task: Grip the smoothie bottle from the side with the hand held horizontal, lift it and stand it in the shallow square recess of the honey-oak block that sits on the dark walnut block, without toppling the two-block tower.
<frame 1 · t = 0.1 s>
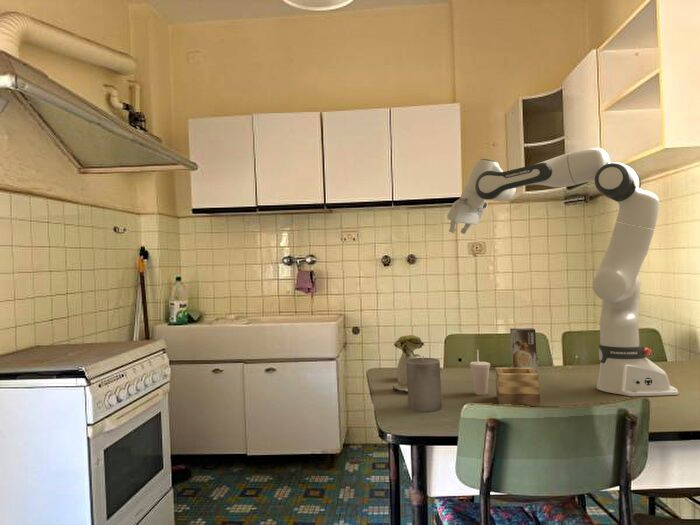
hand: (457, 232, 202), 54 cm above the table, tool tilted 30°, fingers open, 8 cm apart
pillar candle: (424, 408, 150), on the table
smoothie: (480, 394, 165), on the table
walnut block: (517, 403, 154), on the table, touching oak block
decorative fruit: (413, 380, 190), on the table
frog: (412, 391, 172), on the table
coffee box: (524, 370, 202), on the table
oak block: (516, 389, 154), point 4 cm above the table, touching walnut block
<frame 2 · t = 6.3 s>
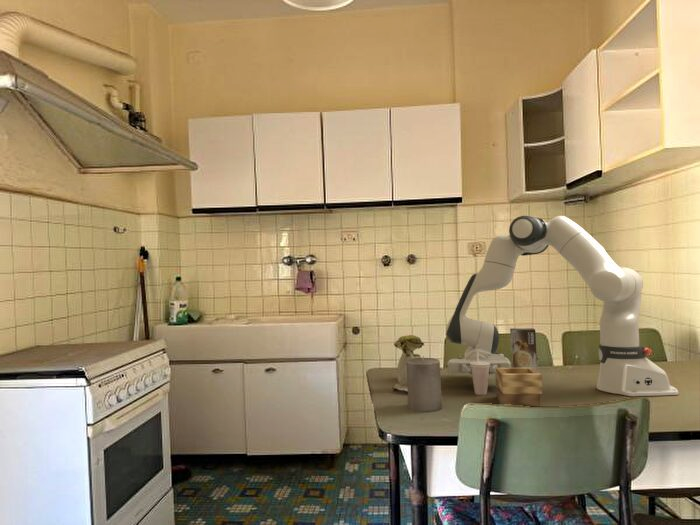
hand: (480, 370, 164), 8 cm above the table, tool horizontal, fingers closed on smoothie, 6 cm apart
smoothie: (480, 394, 165), on the table, touching gripper
when the fingers open (14 cm above the table, at t = 14.3 s): smoothie moves 1 cm, resting on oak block.
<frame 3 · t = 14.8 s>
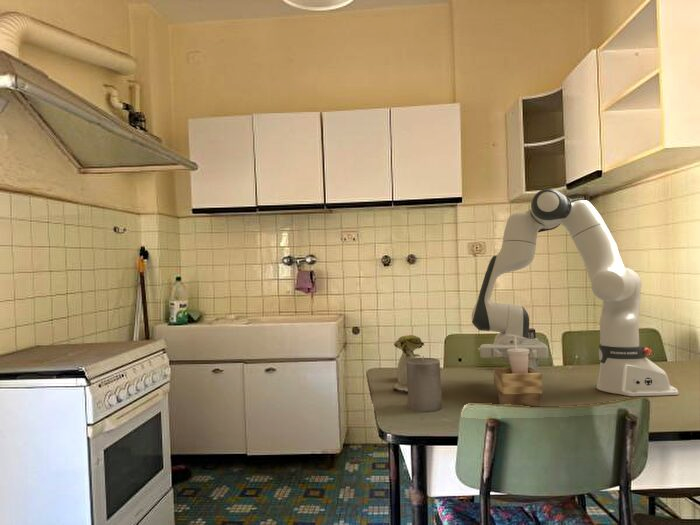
hand: (516, 355, 153), 14 cm above the table, tool horizontal, fingers open, 8 cm apart
smoothie: (520, 383, 154), point 5 cm above the table, touching gripper, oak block
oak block: (517, 389, 154), point 4 cm above the table, touching smoothie, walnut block
everything else where it was.
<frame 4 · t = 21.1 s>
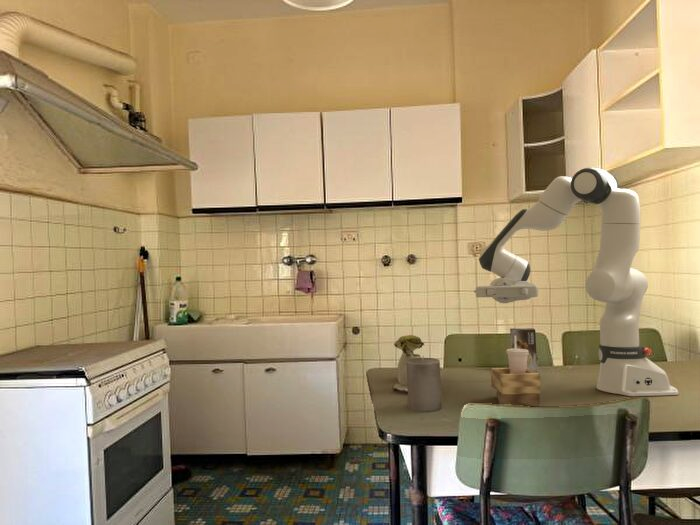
hand: (508, 292, 168), 32 cm above the table, tool horizontal, fingers open, 8 cm apart
smoothie: (518, 383, 154), point 5 cm above the table, touching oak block
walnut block: (517, 403, 154), on the table
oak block: (515, 389, 154), point 4 cm above the table, touching smoothie
everything else where it was.
at the end: smoothie inside the target area on the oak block (0.9 cm from its centre), point 1.8 cm above the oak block's base; smoothie tilted 0°; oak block moved 0.7 cm from its start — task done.
